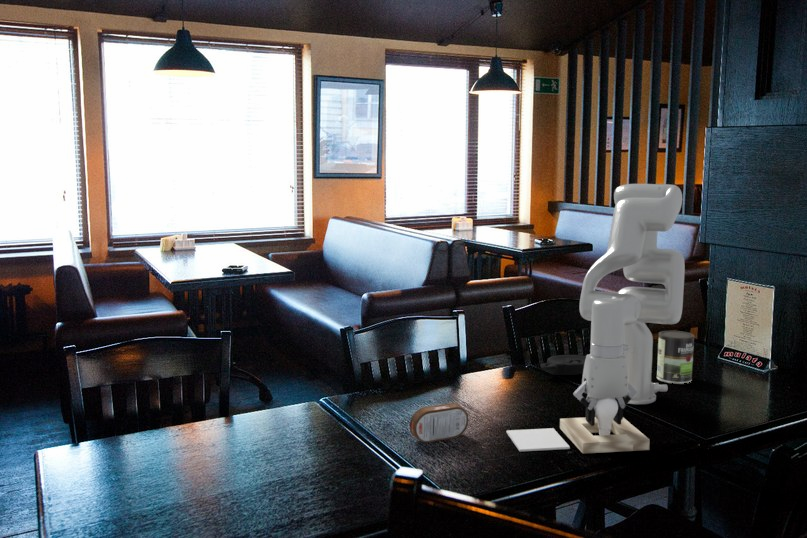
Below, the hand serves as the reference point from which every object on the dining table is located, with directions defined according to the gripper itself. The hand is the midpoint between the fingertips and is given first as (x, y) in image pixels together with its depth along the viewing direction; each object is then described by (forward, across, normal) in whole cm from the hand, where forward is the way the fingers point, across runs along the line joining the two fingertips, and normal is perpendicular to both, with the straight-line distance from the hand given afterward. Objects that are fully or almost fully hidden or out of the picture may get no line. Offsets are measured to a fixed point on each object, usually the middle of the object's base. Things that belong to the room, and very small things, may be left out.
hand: (603, 422), depth 177 cm
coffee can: (+4, -40, -43) cm, 59 cm away
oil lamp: (+5, -9, -53) cm, 54 cm away
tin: (+4, +39, -5) cm, 40 cm away
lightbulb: (+4, 0, 0) cm, 4 cm away
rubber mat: (+4, +16, -1) cm, 17 cm away
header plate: (+4, 0, 0) cm, 4 cm away
